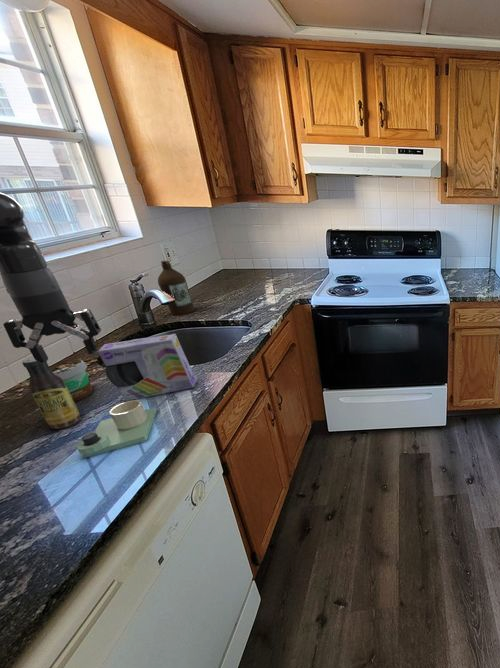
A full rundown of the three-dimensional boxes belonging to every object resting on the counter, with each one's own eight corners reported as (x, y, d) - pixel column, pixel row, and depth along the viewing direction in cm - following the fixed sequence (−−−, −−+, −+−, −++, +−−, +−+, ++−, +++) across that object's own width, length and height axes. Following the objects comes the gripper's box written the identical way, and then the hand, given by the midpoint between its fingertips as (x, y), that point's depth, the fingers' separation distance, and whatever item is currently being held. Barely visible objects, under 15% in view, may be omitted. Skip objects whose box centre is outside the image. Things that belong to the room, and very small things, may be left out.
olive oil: (165, 313, 176) (145, 262, 165) (188, 306, 184) (171, 257, 173) (177, 317, 171) (157, 264, 160) (200, 309, 179) (183, 259, 169)
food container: (58, 411, 105) (40, 381, 100) (46, 407, 107) (28, 378, 102) (107, 388, 115) (93, 361, 111) (95, 385, 117) (81, 358, 113)
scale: (78, 462, 86) (73, 452, 85) (99, 425, 98) (94, 416, 97) (145, 443, 91) (140, 434, 90) (156, 411, 103) (152, 402, 102)
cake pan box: (119, 402, 108) (92, 350, 100) (126, 393, 112) (101, 342, 104) (193, 390, 113) (173, 338, 106) (197, 381, 117) (178, 332, 110)
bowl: (114, 433, 93) (106, 417, 91) (121, 419, 98) (113, 404, 96) (145, 425, 95) (137, 410, 93) (150, 412, 101) (143, 397, 98)
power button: (84, 447, 86) (80, 440, 86) (87, 441, 89) (83, 434, 88) (97, 443, 88) (94, 437, 87) (101, 437, 90) (97, 431, 89)
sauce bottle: (47, 433, 96) (6, 368, 87) (55, 421, 100) (16, 358, 92) (80, 424, 99) (44, 360, 90) (86, 413, 104) (52, 351, 95)
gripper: (84, 281, 84) (112, 344, 91) (-2, 290, 78) (35, 357, 85) (72, 289, 78) (103, 356, 85) (-23, 300, 72) (19, 371, 79)
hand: (69, 356), depth 85 cm, fingers open, 8 cm apart
